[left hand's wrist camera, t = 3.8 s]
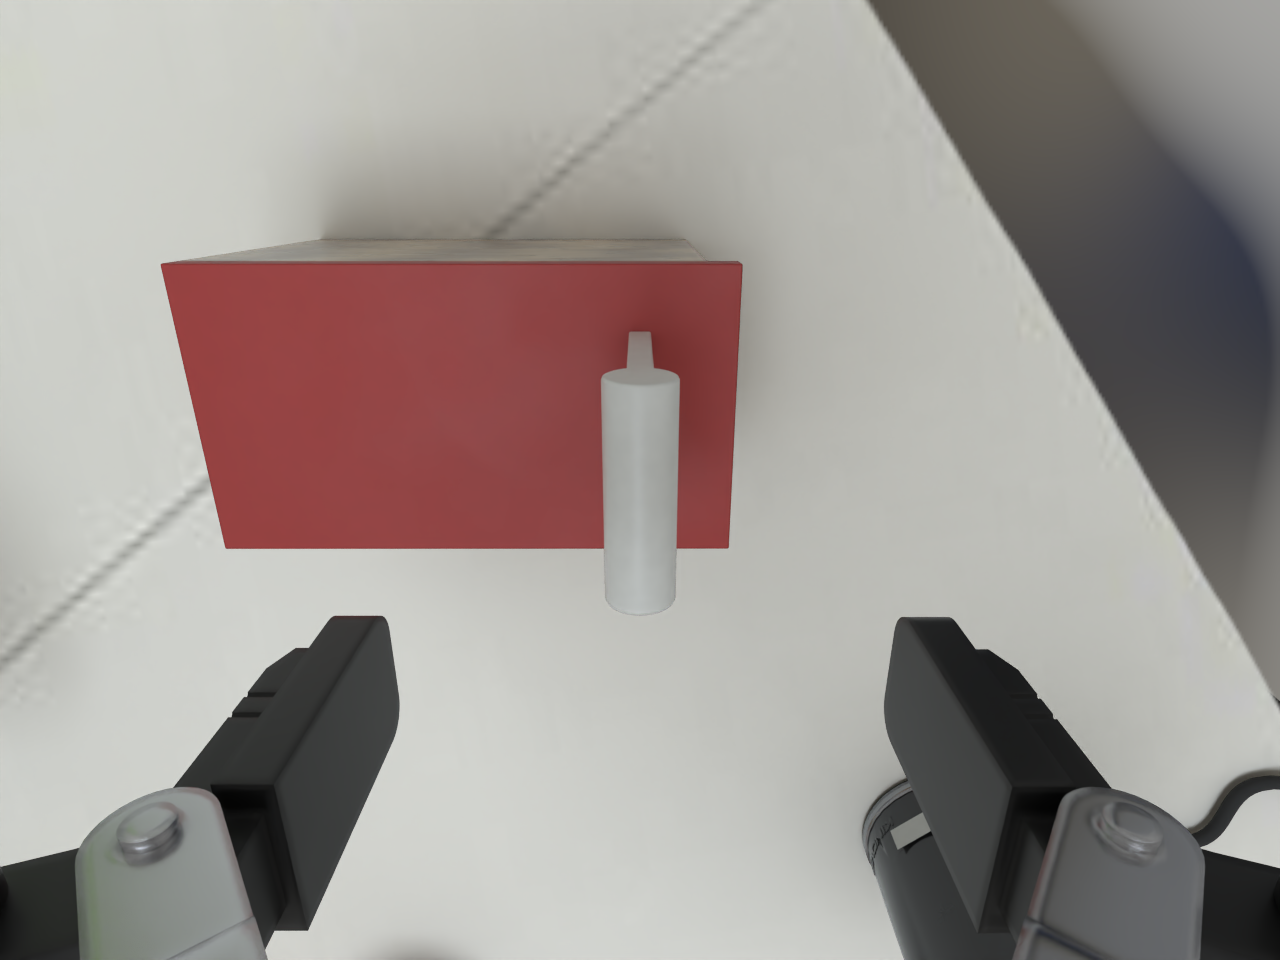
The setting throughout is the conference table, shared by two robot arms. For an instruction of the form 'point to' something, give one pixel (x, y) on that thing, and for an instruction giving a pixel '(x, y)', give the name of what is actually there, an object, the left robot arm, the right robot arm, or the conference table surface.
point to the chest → (469, 251)
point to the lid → (468, 406)
